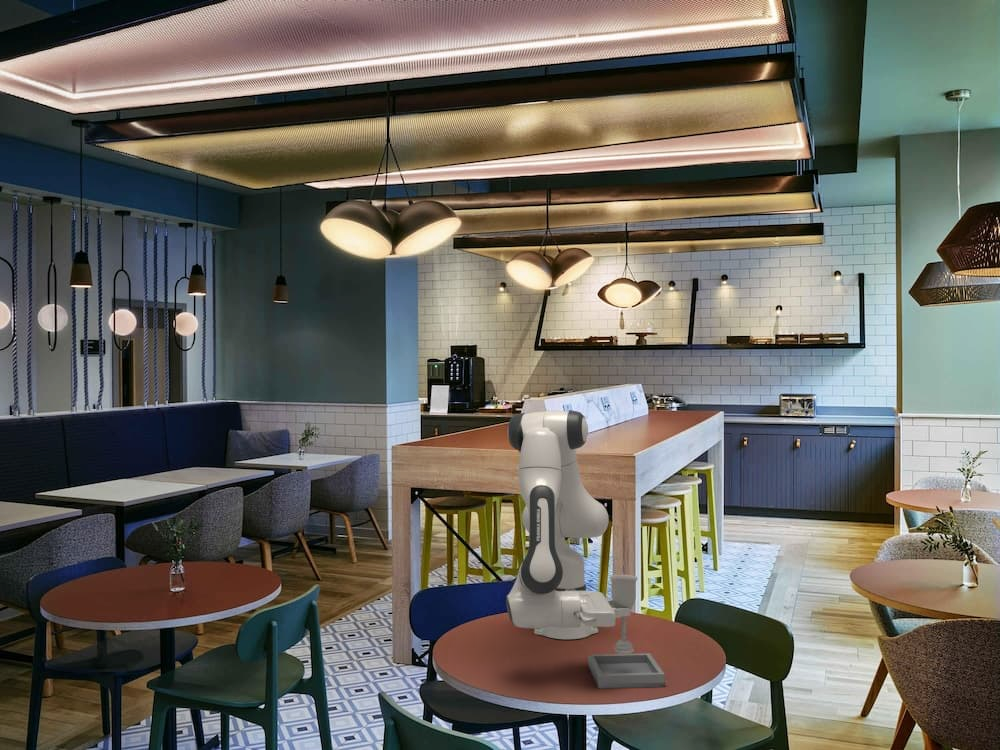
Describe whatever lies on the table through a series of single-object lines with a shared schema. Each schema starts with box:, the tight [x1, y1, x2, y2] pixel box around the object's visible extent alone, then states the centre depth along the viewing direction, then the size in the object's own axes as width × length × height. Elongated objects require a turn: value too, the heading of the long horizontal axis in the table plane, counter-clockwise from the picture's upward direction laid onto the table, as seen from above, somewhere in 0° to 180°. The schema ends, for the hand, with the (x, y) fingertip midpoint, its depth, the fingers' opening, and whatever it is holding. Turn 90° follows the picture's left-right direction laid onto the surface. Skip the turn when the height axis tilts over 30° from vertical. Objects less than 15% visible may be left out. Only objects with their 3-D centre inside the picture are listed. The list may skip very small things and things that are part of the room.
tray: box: [587, 652, 666, 689], centre depth 209 cm, size 16×16×3 cm
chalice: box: [609, 574, 638, 654], centre depth 209 cm, size 7×7×18 cm
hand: (627, 608), depth 209 cm, fingers closed on chalice, 5 cm apart
